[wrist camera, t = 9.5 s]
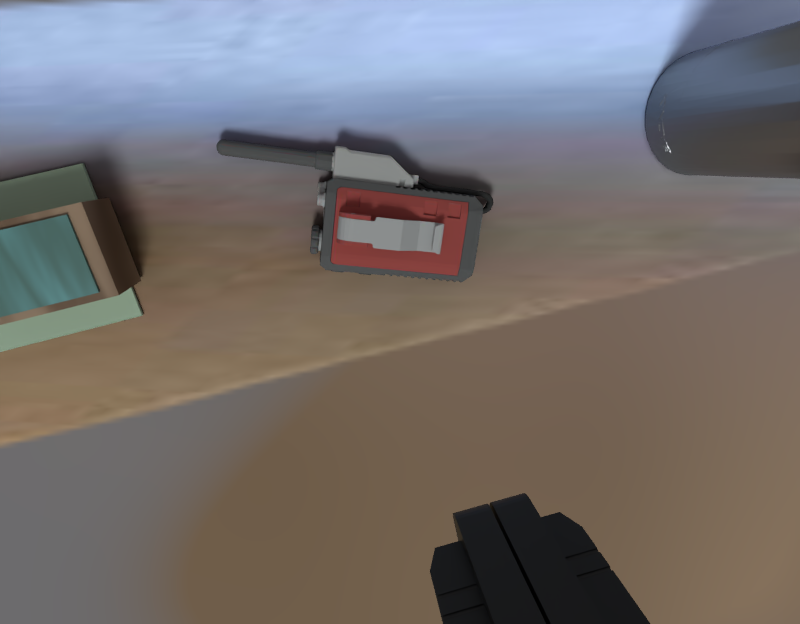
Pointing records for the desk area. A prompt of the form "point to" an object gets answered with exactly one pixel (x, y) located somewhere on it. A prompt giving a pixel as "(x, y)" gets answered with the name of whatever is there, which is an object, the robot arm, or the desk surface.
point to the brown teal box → (62, 260)
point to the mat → (46, 195)
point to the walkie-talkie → (383, 215)
